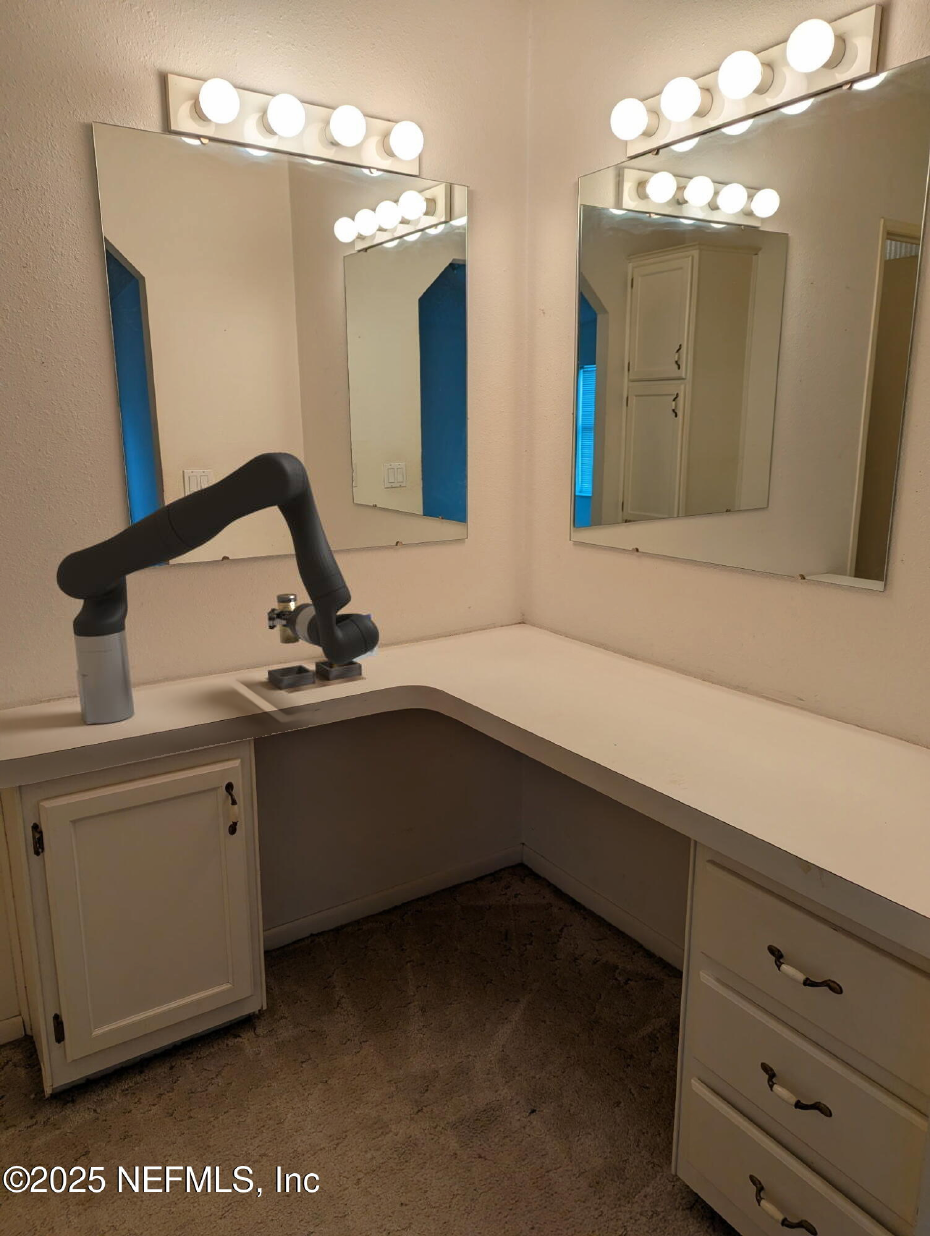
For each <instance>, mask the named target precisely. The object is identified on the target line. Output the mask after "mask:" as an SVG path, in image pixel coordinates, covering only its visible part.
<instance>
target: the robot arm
mask: <svg viewBox="0 0 930 1236" xmlns="http://www.w3.org/2000/svg"><path fill="white" fill-rule="evenodd" d="M272 507H276V508H278V510H279V511H280V513H281V515H282V517H283V518H284V520H285V522H286V525H287V527H288V530H289V533H290V537H291V539H292V544H293V550H294V554H295V562H296V566H297V570H298V573H299V577H300V579H301V581H302V584H303V586H304V589H305V590H306V592H307V595H308V597H309V600H310V602H311V603H310V602H305V603H300V604H299V605H298V604H297V607H296V608H294V609H293V610H287V609H285V610H281V611H280V610H278V608H275V607H273V608H270V610H269V611H268V612H267V624H268V625H267V626H268V630H275V629H276V628H278V626H279V625H282V626H283V627H286V628H289V629H290V631H291V633H292V634H293V635H294V636H295V637H297V638H299V640H302V641H303V642H306V643H307V644H310V645H313V646H317V647H319V648H321V650H322V653H323V655H324V656H325V658H326V659H327V660H329V661H330V662H331V663H333V664H335V665H343V664H345V663H347V662H349V661H351V660H353V659H355V658H357V657H359V656H362V655H364V654H366V653H368V652H370V651H371V650H373V649H374V648H375V647H376V646H377V647H378V643H379V640H380V631H379V629H378V627H377V624H375V622H374V620H373V619H372V618H371V619H370V618H368V617H367V616H365V615H366V614H361V613H356V612H355V613H352V612H351V613H350V612H349V613H340V614H339V612H340V611H341V610H342V609H343V608H345V607H346V606H347V605H349V603H351V602H352V601H351V600H352V594H351V592H350V589H349V586H348V585H347V583H346V580H345V577H344V576H343V574H342V571H341V569H340V567H339V565H338V562H337V560H336V558H335V555H334V554H333V551H332V549H331V546H330V544H329V542H328V541H329V540H328V539H327V536H326V533H325V530H324V527H323V524H322V521H321V518H320V515H319V512H318V509H317V508H318V507H317V505H316V501H315V498H314V495H313V490H312V487H311V483H310V479H309V476H308V473H307V470H306V467H305V466H304V464H303V462H302V461H301V460H300V459H299V458H298V457H297V456H295V455H294V454H292V453H288V452H280V451H279V452H265V453H261V454H259V455H256V456H255V457H253V458H251V459H250V460H248V461H247V462H245V463H244V464H242V465H241V466H240V467H239V468H237V469H236V470H233V471H232V472H231V473H229V474H228V475H227V476H225V477H223V478H222V479H220V480H219V481H217V482H215V483H212V484H210V485H209V486H206V487H204V488H200V489H199V490H195V491H194V492H192V493H191V492H190V493H189V494H187V495H185V496H183V497H180V498H178V499H175V500H173V501H172V502H170V503H168V504H166V505H164V506H162V507H160V508H158V509H157V510H155V511H153V512H152V513H150V514H148V515H146V516H144V517H142V518H141V519H140V520H138V521H136V522H134V523H133V524H131V525H129V526H128V527H126V528H125V529H124V530H122V531H120V532H119V533H117V534H116V535H114V536H112V537H109V538H108V539H106V540H105V539H104V541H101V542H98V543H96V544H94V545H92V546H89V547H86V548H83V549H81V550H80V549H79V550H77V551H74V552H71V553H69V554H68V555H66V556H65V557H63V559H62V560H61V562H60V563H59V565H58V567H57V571H56V575H55V576H56V584H57V586H58V588H59V589H60V591H61V592H63V594H64V595H66V596H68V597H70V598H73V599H74V600H83V603H82V606H81V609H80V611H79V612H78V614H77V615H76V616H75V617H74V619H73V620H72V629H73V638H74V640H73V641H74V646H75V647H74V648H75V655H76V665H77V670H76V678H77V687H78V697H79V704H80V713H81V718H82V719H83V721H84V723H86V725H92V724H108V723H109V724H111V723H114V722H119V721H123V720H127V719H128V718H130V717H133V716H134V715H135V706H134V698H133V687H132V679H131V669H130V660H129V650H128V641H127V640H128V639H127V632H126V618H127V615H128V609H129V607H128V606H129V603H128V589H127V588H128V587H127V586H128V584H127V583H128V582H127V576H128V575H130V574H133V573H136V572H139V571H142V570H145V569H148V568H151V567H156V566H158V565H161V564H163V563H166V562H170V561H171V560H174V559H176V558H179V557H181V556H184V555H185V554H187V553H190V552H191V551H193V550H196V549H197V548H200V547H202V546H203V545H205V544H207V543H208V542H210V541H211V540H213V539H214V538H215V537H216V536H218V535H219V534H220V533H221V532H222V531H224V529H226V528H227V527H228V526H229V525H231V524H232V523H234V522H236V521H238V520H240V519H241V518H243V517H246V516H249V515H250V514H254V513H256V512H259V511H262V510H265V509H267V508H272Z"/></svg>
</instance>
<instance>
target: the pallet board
mask: <svg viewBox="0 0 930 1236" xmlns="http://www.w3.org/2000/svg"><path fill="white" fill-rule="evenodd" d="M314 665H315V667H314V669H310V668H308V667H307V666H304V665H302V664H297V665H292V666H287V667H286V666H285V667H279V668H274V669H269V670H267V677H265V679H266V680H267V681H268V682H269V683H270V684H272V685H273V686H275V687H276V688H278V689H279V690H280V691H284V692H285V693H287V694H293V693H298V692H305V691H309V690H314V689H315V690H316V689H319V688H320V689H321V688H326V687H330V686H336V685H342V684H347V683H352V682H359V681H364V680H367V679H368V678H366V677H365V676H362V675H363V672H362V671H363V666H362V664H361V663H360V662H359V661H357V662H356V661H354V660H351V661H349V662H347V666H344V667H339V668H333V669H330V668H329V660H328V659H327V660H322V661H315V663H314Z"/></svg>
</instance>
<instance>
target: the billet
mask: <svg viewBox="0 0 930 1236" xmlns="http://www.w3.org/2000/svg"><path fill="white" fill-rule="evenodd" d="M276 602H277V609H278V610H280V611H281V610H285V609H287V610H293V609H294V608H296V607H297V606H298V598H297V594H296V593H282V594H281V593H280V594H277V595H276ZM278 627H279V629H278V630H279V641H280V642H279V643H281V644H283V645H284V644H286V645H287V644H296V643H299V642H300V639H299V638H297V637H295V636H294V635H293V634H292V633H291V631H290V629H289V628H286V627H283V626H282V625H278Z"/></svg>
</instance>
